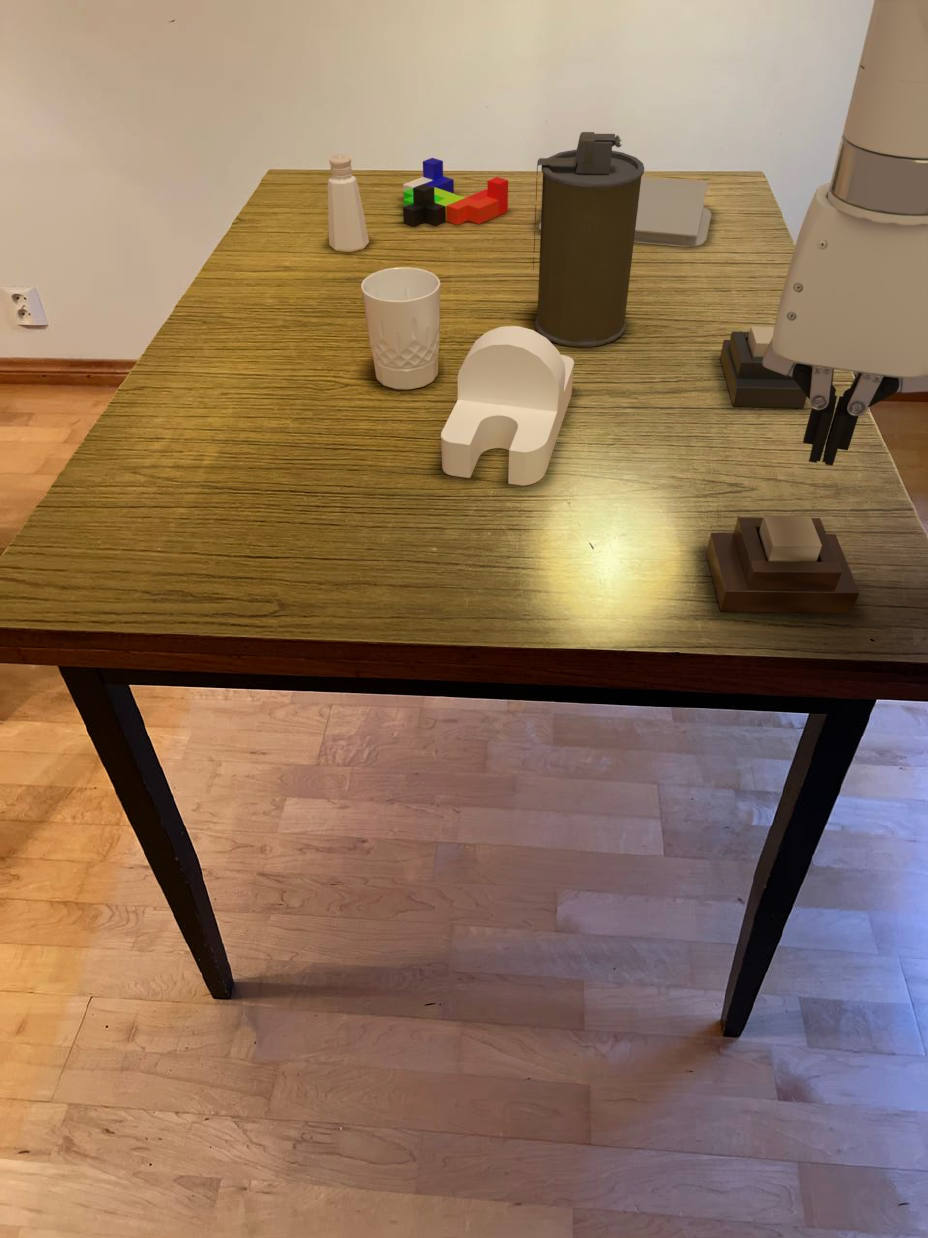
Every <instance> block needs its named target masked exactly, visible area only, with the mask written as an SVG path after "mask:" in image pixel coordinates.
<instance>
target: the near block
mask: <svg viewBox="0 0 928 1238" xmlns="http://www.w3.org/2000/svg"><path fill="white" fill-rule="evenodd" d="M811 519H812V521H813V524H814V527H815V529H816V532H817V534H818V537H819V539H820V542H821V545H822V547H821V550H820V553H819V556H818V559H817V562H792V561H768V560H767V557H766V554H765V551H764V547H763V544H762V541H761V538H760V535H759V531H760V527H761V523H762V520H763V516H761V517H760V516H758V517H756V516H755V517H754V516H753V517H750V516H743V517H742V516H738V517H737V519H736V521H735V526H734V530H733V532H710V535H709V539H708V544H707V548H706V557H707V561H708V566H709V570H710V573H711V578H712V582H713V586H714V591H715V595H716V599H717V602H718V607H719V611H720V612H726V613H727V612H733V613H734V612H735V613H737V612H739V613H741V612H742V613H743V612H744V613H799V614H800V613H801V614H802V613H805V614H806V613H808V614H811V613H812V614H852V613H853V610H854V607H855V605H856V603H857V600H858V599H859V596H860V589H859V588H858V586H857V583H856V581H855V578H854V576H853V573H852V571H851V569H850V566H849V564H848V561H847V559H846V556H845V554H844V552H843V549H842V547H841V544H840V542H839V539H838V537H837V535H836V533H827V532H826V529H825V527H824V523H823V521H822V519H821V517H811Z"/></svg>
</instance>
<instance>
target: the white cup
mask: <svg viewBox="0 0 928 1238" xmlns="http://www.w3.org/2000/svg"><path fill="white" fill-rule="evenodd" d="M360 289H361V296H362V303H363V309H364V316H365V323H366V329H367V334H368V342H369V346H370V353H371V355H372V359H373V364H374V365H373V366H374V371H375V378H376V379H375V380H377V381H378V382H379V383H380V384H381V385H383V386H384V387H388V388H390V389H394V390H414V389H419V388H424V387H426V386H427V385H429V384H431V383H433V382H434V381H435V379H436V378H437V377H438V375H439V349H440V336H441V335H440V334H441V280H440V278H439V276H437V275H436V274H434V273H433V272H431V271H429V270H426V269H423V268H418V267H409V266H401V267H398V266H397V267H390V268H385V269H384V268H383V269H381V270H378V271H375V272H373V273H370V274H369V275H367V276H366V277H365V278H364V279H363V280H362V282H361V283H360Z"/></svg>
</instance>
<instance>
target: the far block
mask: <svg viewBox="0 0 928 1238" xmlns="http://www.w3.org/2000/svg"><path fill="white" fill-rule="evenodd" d="M749 332H750V331H731V334H730V338H729V339H723V341H722V345H721V346H722V347H721V351H720V356H719V359H720V363H721V366H722V370H723V374H724V377H725V381H726V385H727V388H728V393H729V396H730V400H731V404H732V406H733V407H737V408H739V407H740V408H775V409H777V408H778V409H779V408H780V409H781V408H783V409H785V408H787V409H804V408H805V404H806V401H807V399H808V397H807V396H806V395H805V393H804V392H803V391H802V389H801V388H800V387H799V385H798V384H797V383H796V381H795V380H794V379H793V377H791V376H785V375H783V374H780V373H778V372H775V371H773V370H770V369H767V368H766V367H764V366H763V364H762V360H763V357H752V355H751V352H750V349H749V345H748V342H747V341H748V337H749Z"/></svg>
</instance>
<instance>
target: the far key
mask: <svg viewBox="0 0 928 1238" xmlns="http://www.w3.org/2000/svg"><path fill="white" fill-rule="evenodd" d="M773 331H774V326H757V325H756V326H755V325H753V326H750V328H749V331H748V332H749V337H748V341H747V342H748V345H749V349H750V352H751V355H752V357H764V354H765V351H766V349H767V347H768V345H769V343H770V341H771V339H772V337H773Z"/></svg>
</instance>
